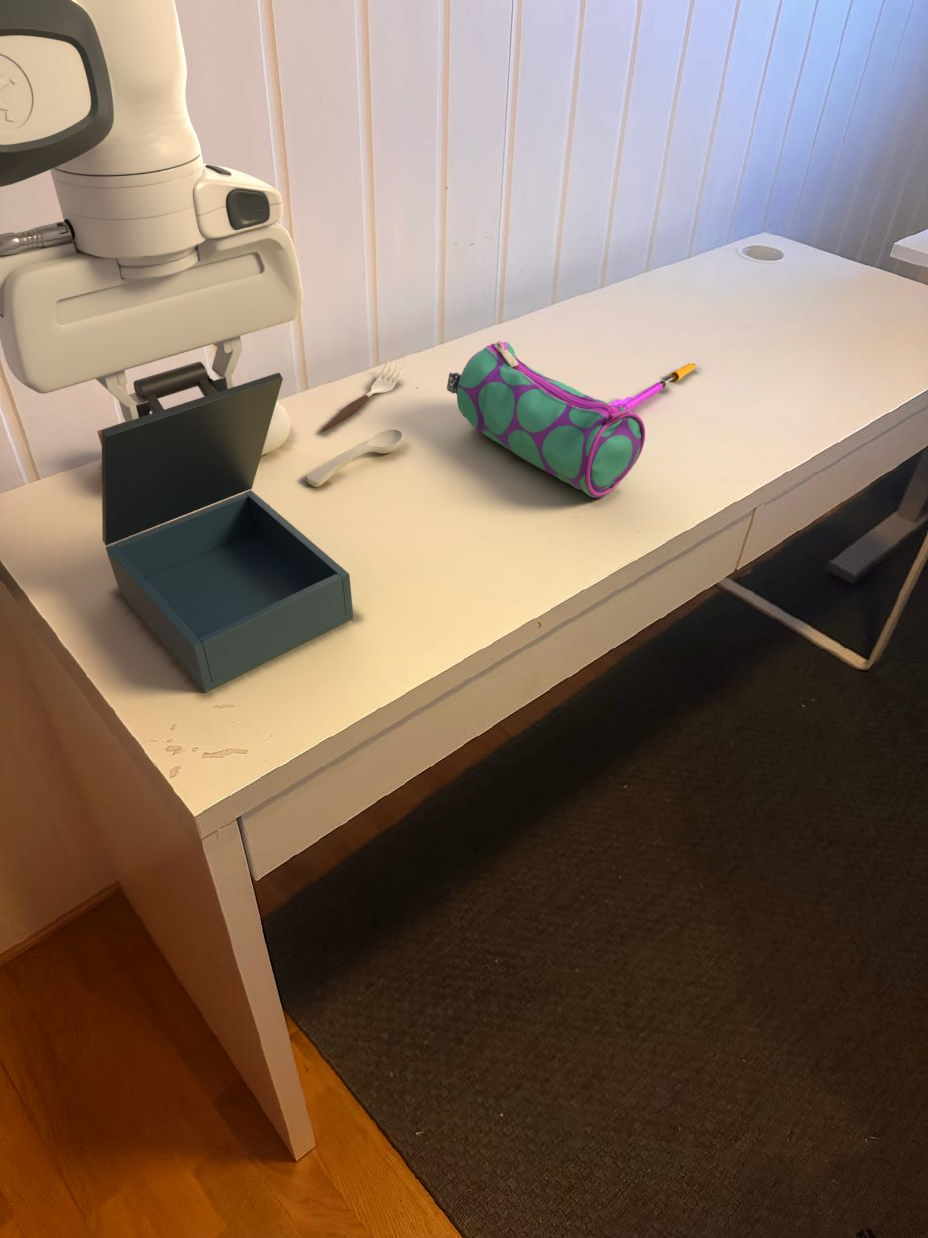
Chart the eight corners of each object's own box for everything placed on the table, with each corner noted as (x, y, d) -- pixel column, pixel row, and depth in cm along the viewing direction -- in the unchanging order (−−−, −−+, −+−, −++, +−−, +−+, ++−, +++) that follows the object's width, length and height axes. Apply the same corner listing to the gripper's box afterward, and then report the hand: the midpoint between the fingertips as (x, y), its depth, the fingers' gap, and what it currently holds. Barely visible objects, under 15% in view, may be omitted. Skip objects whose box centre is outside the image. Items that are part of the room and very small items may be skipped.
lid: (283, 378, 65) (252, 330, 65) (105, 436, 58) (73, 383, 59) (252, 488, 79) (227, 448, 79) (105, 546, 72) (79, 502, 73)
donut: (236, 477, 89) (312, 438, 95) (230, 447, 87) (308, 409, 92) (178, 442, 94) (253, 407, 100) (170, 413, 92) (248, 378, 97)
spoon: (411, 446, 94) (409, 430, 92) (321, 497, 88) (318, 480, 86) (392, 436, 95) (390, 419, 94) (303, 485, 89) (299, 468, 88)
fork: (311, 432, 96) (310, 415, 95) (388, 373, 107) (387, 357, 106) (332, 438, 95) (330, 421, 94) (406, 378, 106) (406, 362, 105)
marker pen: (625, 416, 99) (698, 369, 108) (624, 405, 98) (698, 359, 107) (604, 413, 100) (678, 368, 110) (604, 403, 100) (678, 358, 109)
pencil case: (446, 430, 97) (445, 345, 90) (507, 405, 101) (511, 323, 94) (581, 517, 85) (592, 426, 78) (645, 485, 89) (660, 396, 82)
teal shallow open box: (353, 618, 73) (349, 573, 70) (205, 693, 67) (193, 647, 64) (258, 532, 82) (250, 489, 79) (119, 591, 76) (105, 546, 72)
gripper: (-19, 257, 49) (55, 475, 58) (303, 188, 59) (323, 383, 68) (-55, 227, 52) (21, 437, 61) (254, 167, 62) (279, 355, 71)
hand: (181, 408), depth 65 cm, fingers closed on lid, 5 cm apart
